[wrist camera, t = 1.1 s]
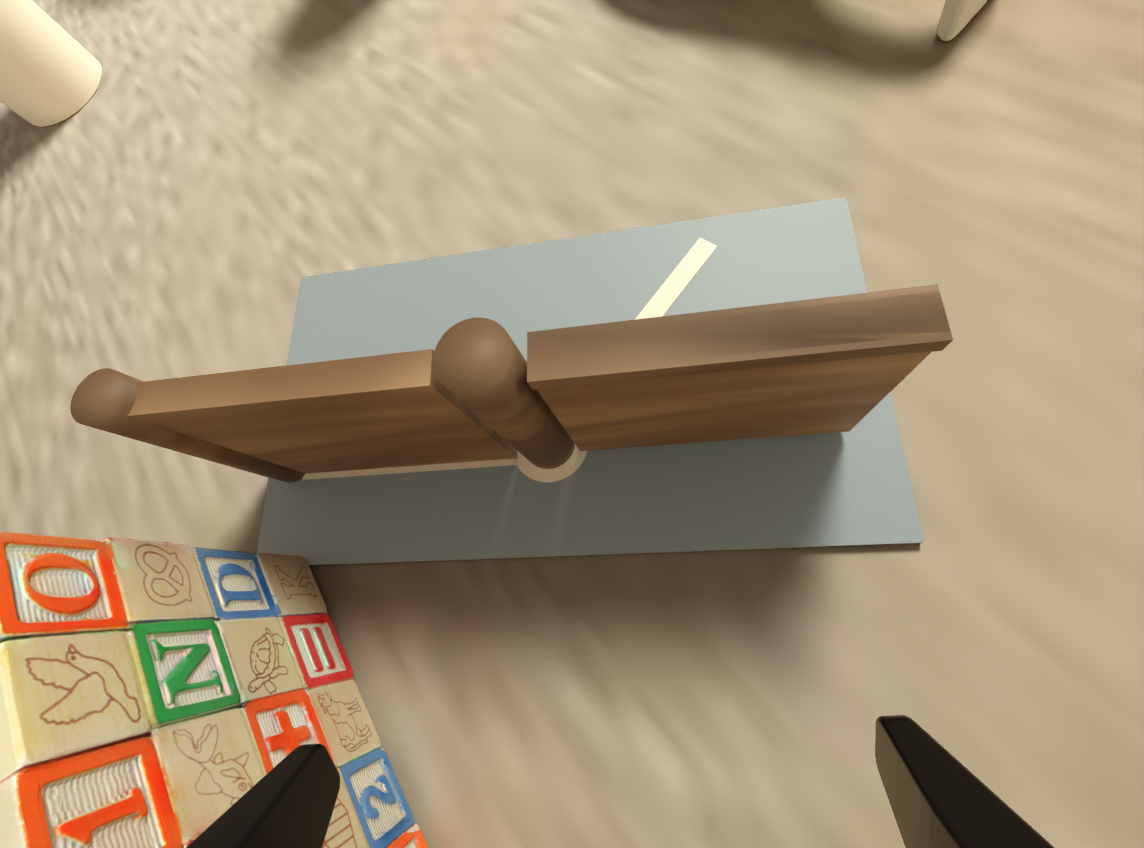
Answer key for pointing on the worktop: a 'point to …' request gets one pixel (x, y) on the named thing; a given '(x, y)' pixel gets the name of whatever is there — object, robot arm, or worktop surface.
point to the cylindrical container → (42, 66)
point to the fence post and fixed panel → (343, 410)
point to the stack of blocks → (172, 695)
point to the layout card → (609, 476)
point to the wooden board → (735, 368)
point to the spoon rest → (957, 16)
